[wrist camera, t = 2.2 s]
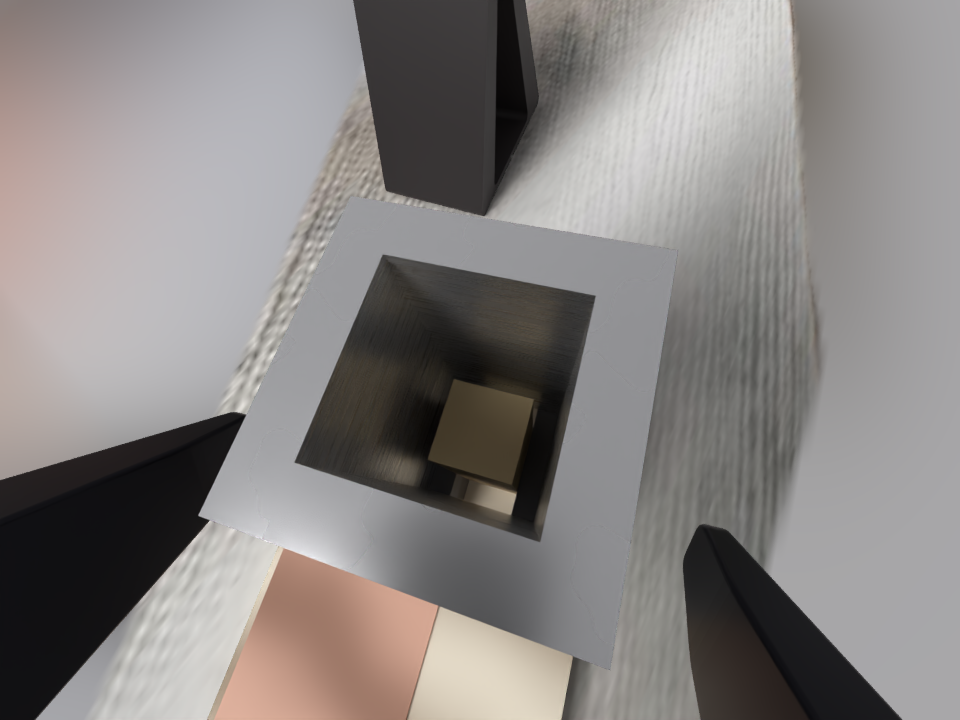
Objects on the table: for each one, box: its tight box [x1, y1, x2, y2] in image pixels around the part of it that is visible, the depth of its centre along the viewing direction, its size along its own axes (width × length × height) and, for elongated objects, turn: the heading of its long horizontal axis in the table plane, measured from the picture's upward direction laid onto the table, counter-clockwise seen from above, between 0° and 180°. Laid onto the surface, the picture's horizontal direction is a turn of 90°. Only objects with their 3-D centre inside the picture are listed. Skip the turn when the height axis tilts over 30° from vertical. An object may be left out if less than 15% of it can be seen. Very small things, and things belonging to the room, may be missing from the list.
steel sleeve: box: [198, 196, 678, 670], centre depth 9 cm, size 5×5×8 cm
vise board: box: [207, 379, 573, 720], centre depth 13 cm, size 16×12×8 cm
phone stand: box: [353, 0, 539, 216], centre depth 18 cm, size 9×6×12 cm, turn 157°
